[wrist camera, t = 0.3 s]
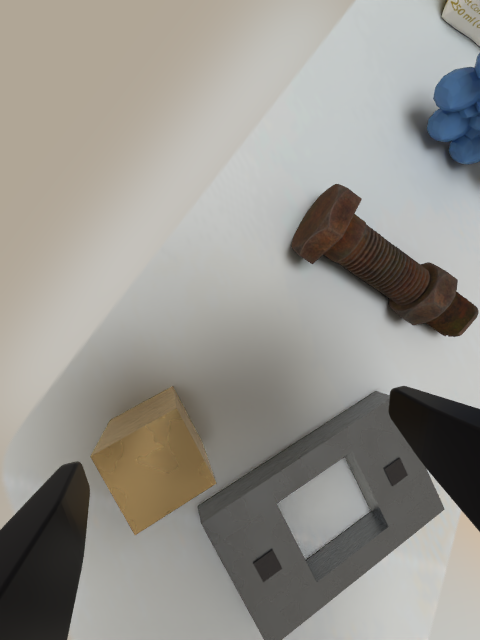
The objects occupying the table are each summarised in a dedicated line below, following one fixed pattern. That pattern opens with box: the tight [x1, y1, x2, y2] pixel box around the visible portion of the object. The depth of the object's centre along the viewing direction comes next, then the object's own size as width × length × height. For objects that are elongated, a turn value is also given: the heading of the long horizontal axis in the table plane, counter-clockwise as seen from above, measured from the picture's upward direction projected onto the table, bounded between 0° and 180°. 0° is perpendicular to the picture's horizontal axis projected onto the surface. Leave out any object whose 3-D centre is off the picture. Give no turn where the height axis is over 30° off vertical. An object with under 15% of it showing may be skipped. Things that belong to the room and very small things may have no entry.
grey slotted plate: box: [198, 391, 444, 640], centre depth 23 cm, size 10×16×2 cm, turn 117°
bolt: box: [291, 184, 478, 337], centre depth 24 cm, size 6×5×15 cm
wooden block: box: [90, 386, 216, 535], centre depth 19 cm, size 4×4×6 cm
